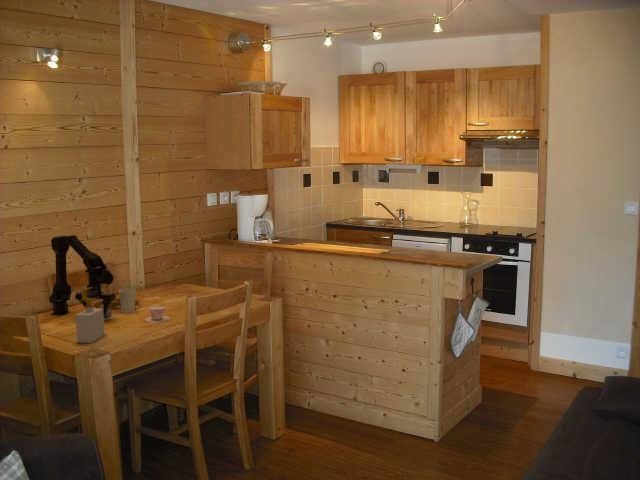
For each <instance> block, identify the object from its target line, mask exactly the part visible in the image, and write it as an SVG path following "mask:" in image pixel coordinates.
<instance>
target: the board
mask: <svg viewBox="0 0 640 480" xmlns="http://www.w3.org/2000/svg"><path fill="white" fill-rule="evenodd" d="M117 316H118V314H111V317H109V318H104V322H106V321H108V320H111V319H112V318H115V317H117Z"/></svg>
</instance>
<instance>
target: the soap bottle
mask: <svg viewBox="0 0 640 480" xmlns="http://www.w3.org/2000/svg"><path fill="white" fill-rule="evenodd" d="M90 288H92V287H90ZM90 288H87V287H86V288H85V289H82V290H81V292H82V299H83V300H84V301H86V303H87V305H86V306H85V308H84V310H83V311H81V312H78V313H76V314H75V326H76V341H77V343H80V344H82V343H84V344H91V343H93V342H95V341H97V340H99V339H101V338H103V337H104V336H105V321H104V316H103V309H98V308H99V307H98V308H95V307H94V304H92V303H93V300H95V298H93V299H90V298H87V289H90Z"/></svg>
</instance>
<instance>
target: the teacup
mask: <svg viewBox="0 0 640 480" xmlns="http://www.w3.org/2000/svg"><path fill="white" fill-rule="evenodd" d="M147 309H148V311H149V313H150V314H151V315H150V316H148V317H146V318H145V319H144V321H145V322H147V323H151V324H152V323H153V324H155V323H157V324H159V323H165V322H168V321H170V320H171V317H170V316H169V315H166V306H164V305H152V306H149V307H147Z"/></svg>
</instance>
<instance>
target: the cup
mask: <svg viewBox="0 0 640 480" xmlns="http://www.w3.org/2000/svg"><path fill="white" fill-rule="evenodd" d="M118 292H119V301H120V307H121V313H122V314H133V313H135V312H136V308H135V307H136V289H135V288H123V289H119V290H118Z"/></svg>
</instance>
